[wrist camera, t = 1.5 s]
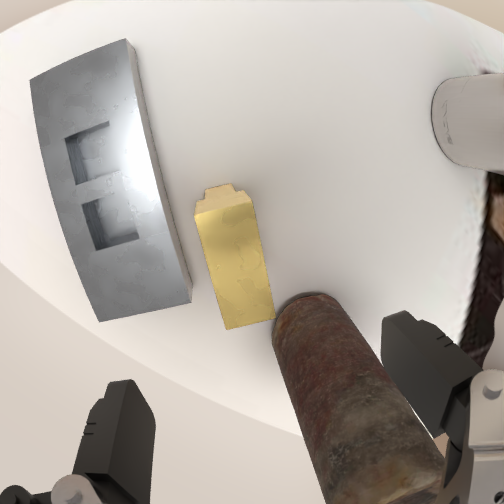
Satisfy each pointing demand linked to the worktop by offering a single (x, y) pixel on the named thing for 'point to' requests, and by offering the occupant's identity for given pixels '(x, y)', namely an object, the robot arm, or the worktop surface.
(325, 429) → the brown cylinder
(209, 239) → the yellow block
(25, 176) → the worktop surface
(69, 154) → the grey slotted base
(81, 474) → the robot arm
